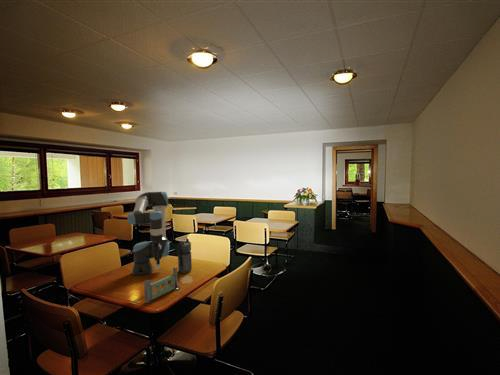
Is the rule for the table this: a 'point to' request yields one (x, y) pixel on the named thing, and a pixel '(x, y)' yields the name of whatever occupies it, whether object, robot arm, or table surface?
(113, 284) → the table surface
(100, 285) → the table surface
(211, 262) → the table surface
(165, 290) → the gate
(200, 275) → the table surface
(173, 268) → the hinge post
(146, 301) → the post
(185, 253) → the beverage bottle
